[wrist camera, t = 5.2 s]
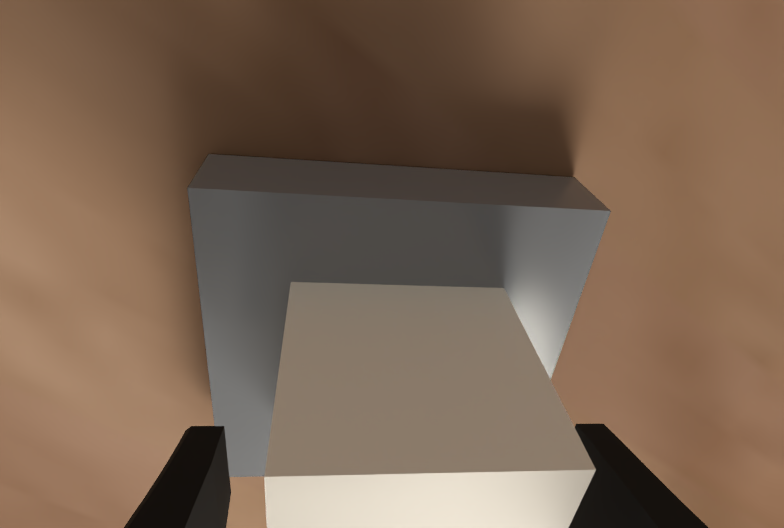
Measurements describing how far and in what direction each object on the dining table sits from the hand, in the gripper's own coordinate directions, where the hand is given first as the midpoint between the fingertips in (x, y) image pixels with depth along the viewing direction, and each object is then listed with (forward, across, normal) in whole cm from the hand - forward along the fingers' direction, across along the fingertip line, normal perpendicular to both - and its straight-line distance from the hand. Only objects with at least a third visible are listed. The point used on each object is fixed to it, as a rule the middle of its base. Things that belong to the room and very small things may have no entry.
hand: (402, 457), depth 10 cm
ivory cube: (+3, 0, 0) cm, 3 cm away
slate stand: (+5, 0, 0) cm, 5 cm away
